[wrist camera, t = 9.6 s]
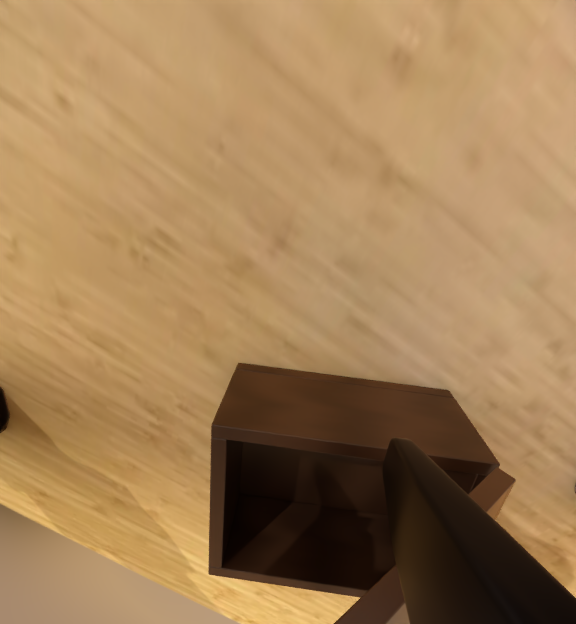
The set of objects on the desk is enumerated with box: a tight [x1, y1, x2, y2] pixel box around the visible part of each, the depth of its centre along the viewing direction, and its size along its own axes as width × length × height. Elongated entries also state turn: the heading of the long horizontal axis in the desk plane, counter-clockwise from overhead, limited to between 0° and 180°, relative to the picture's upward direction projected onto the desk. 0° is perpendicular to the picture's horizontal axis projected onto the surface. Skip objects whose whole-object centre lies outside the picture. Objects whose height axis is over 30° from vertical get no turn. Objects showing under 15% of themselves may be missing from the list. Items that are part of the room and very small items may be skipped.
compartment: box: [209, 363, 500, 597], centre depth 19 cm, size 14×12×6 cm
